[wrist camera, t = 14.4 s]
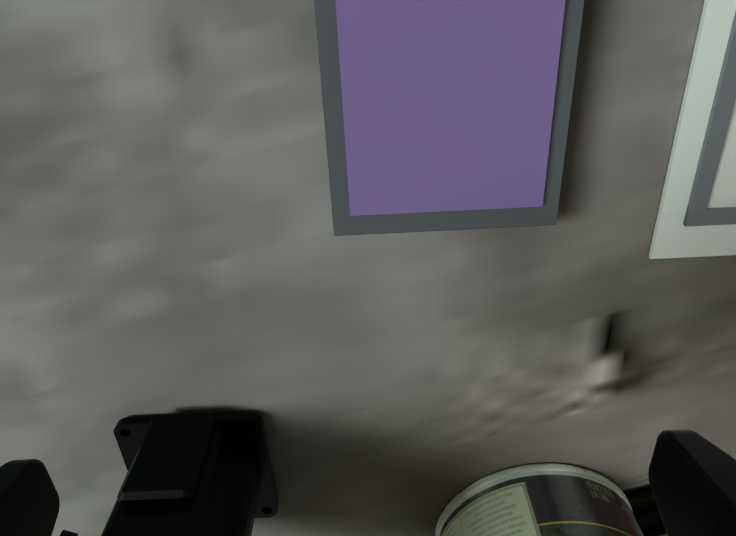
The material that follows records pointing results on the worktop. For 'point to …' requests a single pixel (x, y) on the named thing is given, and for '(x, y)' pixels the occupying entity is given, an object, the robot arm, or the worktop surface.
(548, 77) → the ink pad
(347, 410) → the worktop surface
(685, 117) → the sheet
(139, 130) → the worktop surface
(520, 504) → the coffee can
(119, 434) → the robot arm
